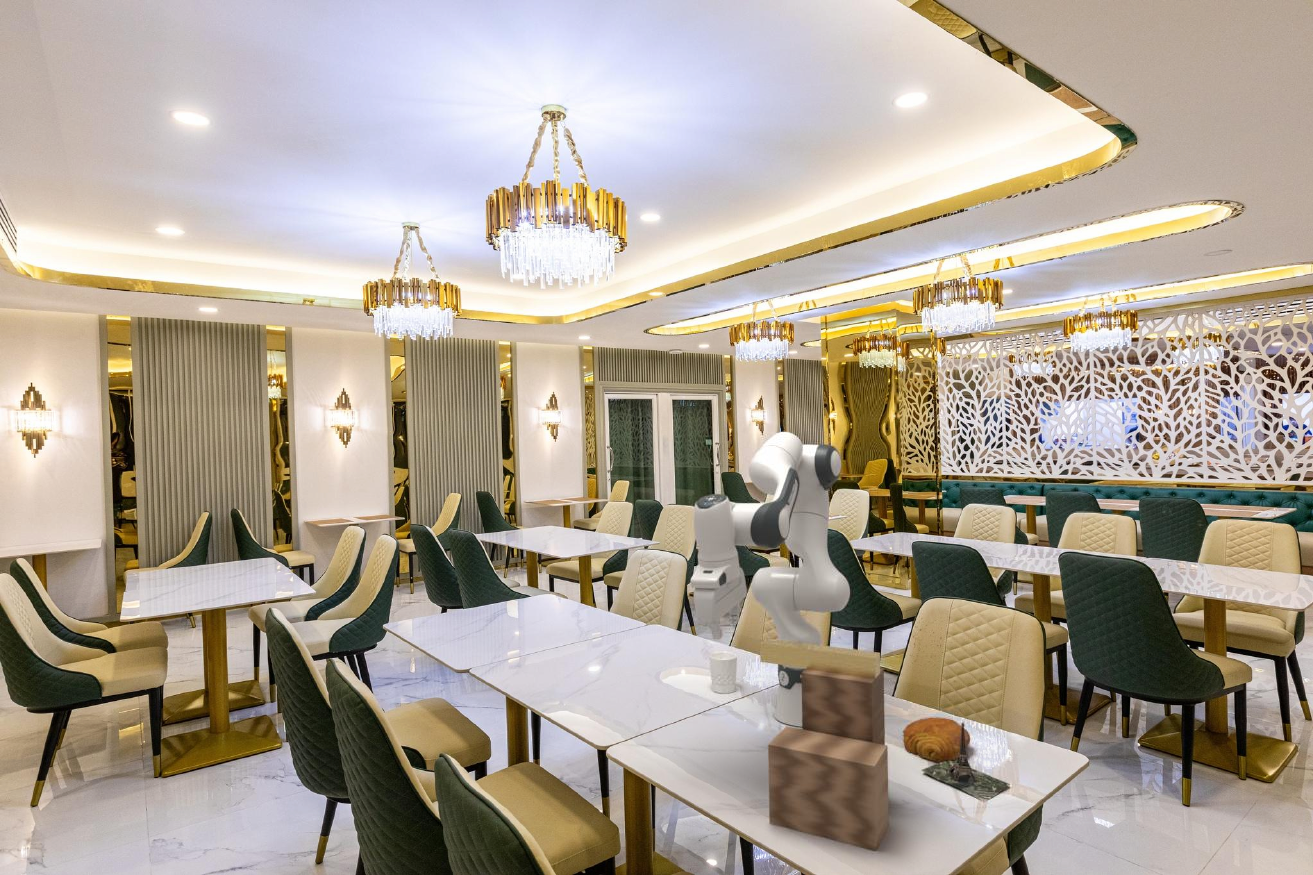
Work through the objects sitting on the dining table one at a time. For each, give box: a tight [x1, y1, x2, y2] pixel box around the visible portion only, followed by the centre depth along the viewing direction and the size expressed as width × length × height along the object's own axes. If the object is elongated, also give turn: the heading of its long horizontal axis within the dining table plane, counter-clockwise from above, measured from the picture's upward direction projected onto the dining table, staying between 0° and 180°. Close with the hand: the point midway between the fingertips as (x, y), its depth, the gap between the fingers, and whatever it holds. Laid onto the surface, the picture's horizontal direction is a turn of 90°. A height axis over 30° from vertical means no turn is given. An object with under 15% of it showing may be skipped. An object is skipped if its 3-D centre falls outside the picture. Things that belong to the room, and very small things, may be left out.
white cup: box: [709, 651, 738, 695], centre depth 215 cm, size 8×8×10 cm
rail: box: [759, 637, 881, 679], centre depth 152 cm, size 24×4×4 cm, turn 60°
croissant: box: [902, 717, 971, 763], centre depth 173 cm, size 14×16×8 cm
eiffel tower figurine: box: [921, 721, 1011, 802], centre depth 157 cm, size 15×10×13 cm
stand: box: [767, 667, 890, 852], centre depth 145 cm, size 20×21×26 cm
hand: (726, 630), depth 163 cm, fingers open, 8 cm apart
